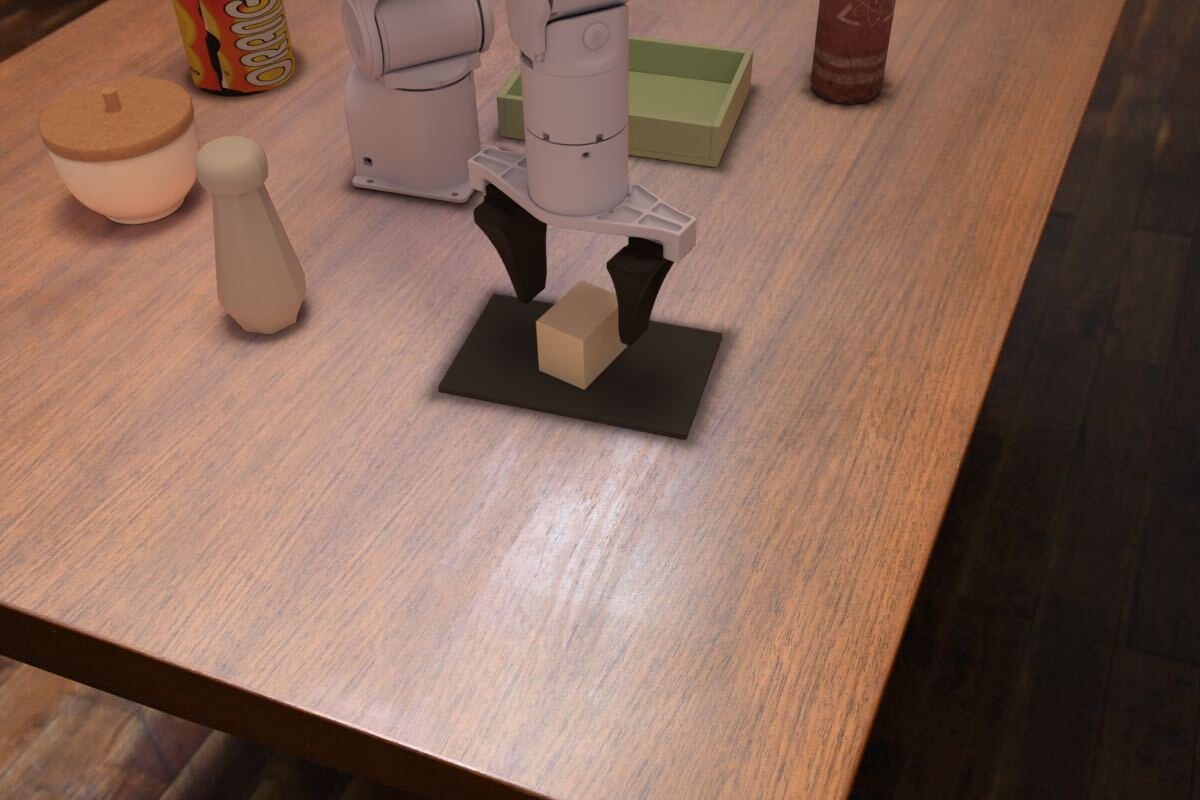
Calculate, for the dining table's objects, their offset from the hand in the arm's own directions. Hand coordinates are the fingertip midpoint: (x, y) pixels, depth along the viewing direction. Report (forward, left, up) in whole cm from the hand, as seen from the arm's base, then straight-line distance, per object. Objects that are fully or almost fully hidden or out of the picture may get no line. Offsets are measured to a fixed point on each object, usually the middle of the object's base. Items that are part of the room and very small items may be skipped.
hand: (582, 314), depth 75 cm
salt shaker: (-22, -1, -4) cm, 22 cm away
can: (+11, +41, -4) cm, 43 cm away
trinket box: (-38, +9, -4) cm, 39 cm away
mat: (0, 0, -4) cm, 4 cm away
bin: (-6, +32, -4) cm, 33 cm away
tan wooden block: (0, 0, -4) cm, 4 cm away
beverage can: (-41, +30, -4) cm, 51 cm away
